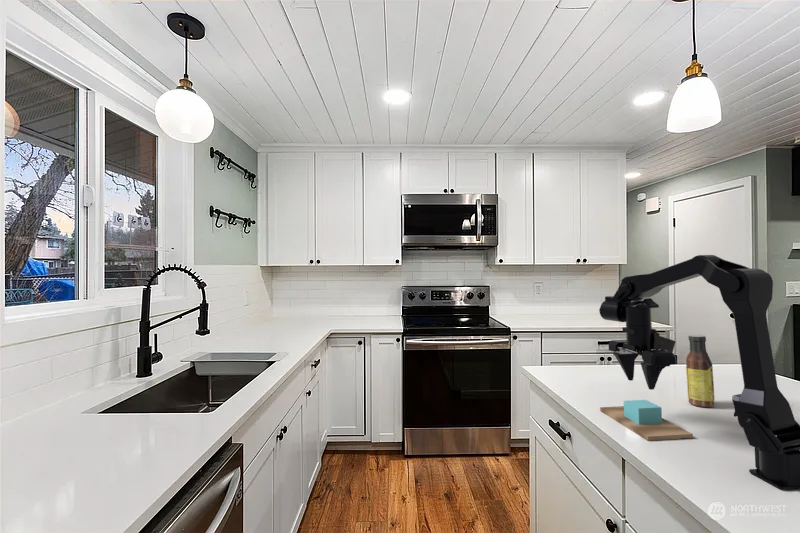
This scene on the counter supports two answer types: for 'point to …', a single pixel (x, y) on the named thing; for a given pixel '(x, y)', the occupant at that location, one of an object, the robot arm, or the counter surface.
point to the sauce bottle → (699, 373)
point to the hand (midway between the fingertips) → (640, 384)
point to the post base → (647, 426)
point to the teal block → (642, 412)
